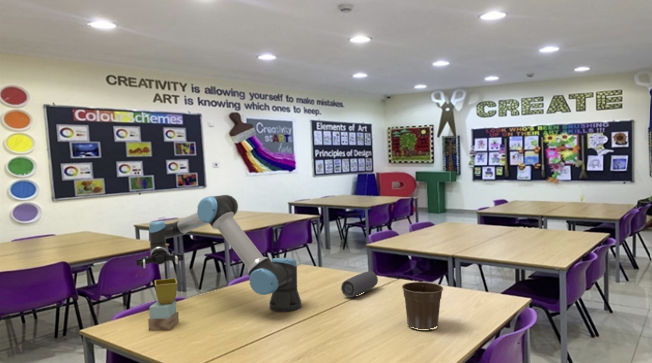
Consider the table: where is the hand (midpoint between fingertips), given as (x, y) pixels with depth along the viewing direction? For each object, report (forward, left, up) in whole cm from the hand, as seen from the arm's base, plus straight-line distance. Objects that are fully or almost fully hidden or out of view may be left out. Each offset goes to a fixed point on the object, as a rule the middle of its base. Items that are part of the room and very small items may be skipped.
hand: (160, 262), depth 197 cm
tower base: (-5, +9, -25) cm, 27 cm away
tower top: (-5, +9, -20) cm, 23 cm away
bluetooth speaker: (-85, -42, -25) cm, 99 cm away
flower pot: (-6, +7, -15) cm, 18 cm away
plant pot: (-113, +3, -25) cm, 116 cm away
